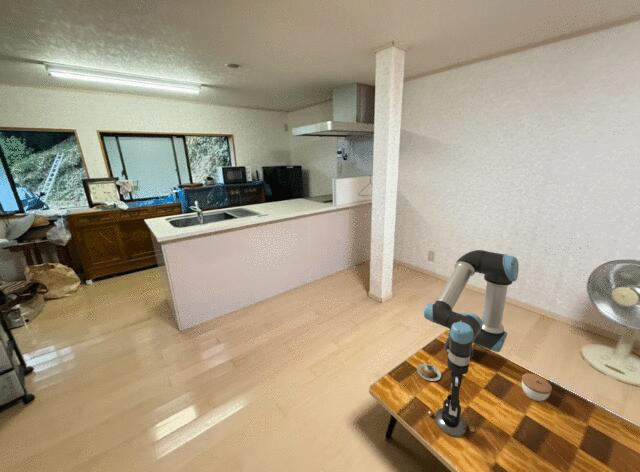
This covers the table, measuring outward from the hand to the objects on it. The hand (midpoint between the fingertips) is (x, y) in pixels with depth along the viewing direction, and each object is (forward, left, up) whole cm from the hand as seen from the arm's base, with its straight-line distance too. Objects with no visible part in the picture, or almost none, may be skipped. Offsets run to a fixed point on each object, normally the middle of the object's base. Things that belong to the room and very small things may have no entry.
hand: (453, 400), depth 108 cm
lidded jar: (-32, +34, -12) cm, 48 cm away
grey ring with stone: (-24, -12, -13) cm, 30 cm away
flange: (0, 0, -12) cm, 12 cm away
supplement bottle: (0, 0, -11) cm, 11 cm away
